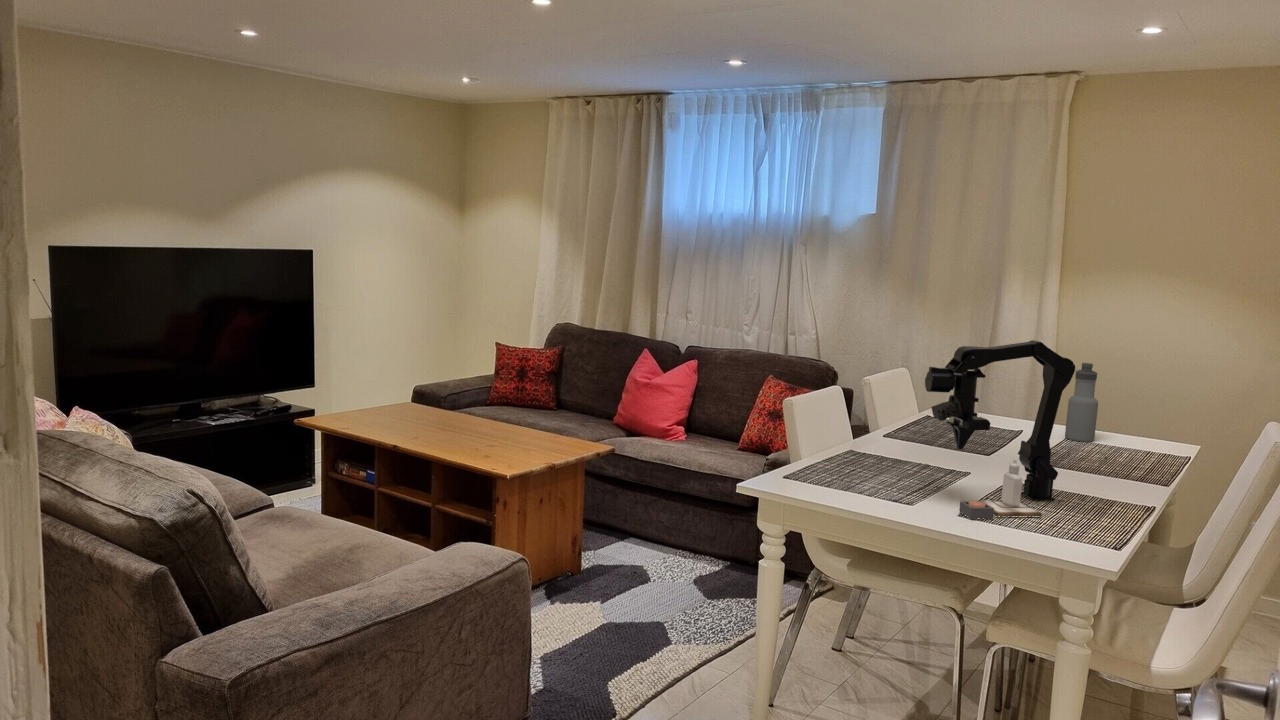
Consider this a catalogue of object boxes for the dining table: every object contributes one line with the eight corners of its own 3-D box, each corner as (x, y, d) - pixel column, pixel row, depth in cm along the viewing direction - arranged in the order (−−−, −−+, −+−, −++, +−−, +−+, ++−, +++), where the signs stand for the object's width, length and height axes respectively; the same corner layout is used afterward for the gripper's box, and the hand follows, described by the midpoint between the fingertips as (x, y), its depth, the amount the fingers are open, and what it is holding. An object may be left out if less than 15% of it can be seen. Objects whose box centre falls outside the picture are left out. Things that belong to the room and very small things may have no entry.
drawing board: (1017, 505, 245) (1018, 499, 245) (1041, 517, 234) (1041, 512, 234) (975, 505, 244) (976, 499, 243) (997, 517, 233) (997, 512, 233)
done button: (979, 508, 236) (980, 501, 235) (987, 513, 232) (988, 505, 231) (965, 508, 235) (965, 501, 235) (972, 513, 231) (973, 505, 231)
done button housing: (980, 512, 237) (982, 501, 236) (992, 519, 231) (994, 508, 231) (959, 512, 236) (960, 501, 236) (970, 519, 230) (971, 508, 230)
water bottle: (1064, 435, 341) (1072, 360, 337) (1094, 438, 337) (1102, 363, 333) (1064, 440, 332) (1072, 363, 328) (1094, 443, 328) (1102, 366, 324)
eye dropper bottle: (1001, 505, 239) (1006, 461, 237) (1000, 499, 244) (1005, 456, 242) (1019, 508, 237) (1024, 463, 236) (1018, 501, 243) (1023, 458, 241)
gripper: (920, 387, 257) (916, 441, 259) (954, 399, 239) (949, 457, 241) (957, 387, 259) (953, 441, 261) (993, 399, 241) (988, 457, 243)
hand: (959, 449), depth 251 cm, fingers closed
